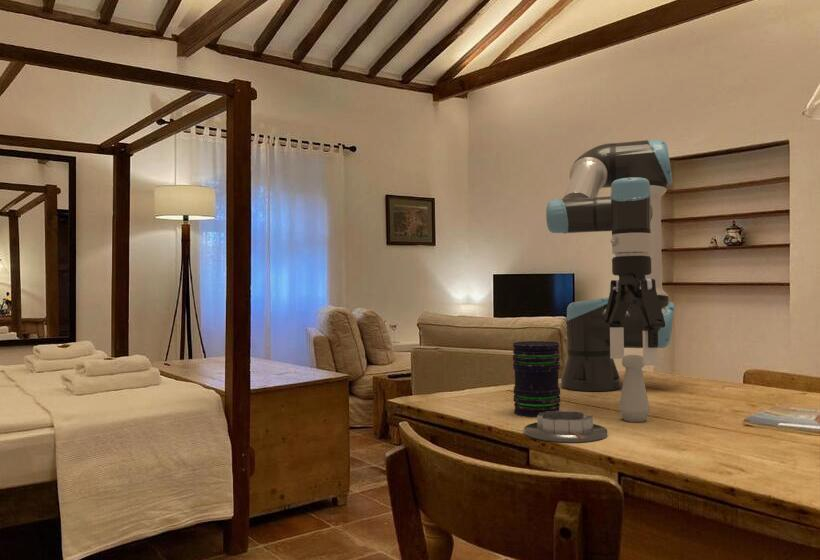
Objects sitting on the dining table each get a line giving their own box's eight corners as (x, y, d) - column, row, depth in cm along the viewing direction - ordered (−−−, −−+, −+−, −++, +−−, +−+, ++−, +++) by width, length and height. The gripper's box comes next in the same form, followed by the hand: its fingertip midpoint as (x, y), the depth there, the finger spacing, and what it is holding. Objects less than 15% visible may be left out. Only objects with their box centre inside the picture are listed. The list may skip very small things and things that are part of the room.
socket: (513, 427, 134) (513, 410, 134) (586, 423, 136) (585, 406, 136) (541, 445, 119) (541, 425, 119) (622, 440, 122) (622, 421, 122)
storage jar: (567, 411, 149) (565, 342, 149) (551, 419, 141) (550, 346, 141) (523, 407, 154) (522, 340, 154) (506, 415, 146) (505, 344, 146)
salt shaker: (623, 416, 143) (622, 353, 143) (652, 418, 140) (651, 354, 140) (616, 421, 138) (614, 356, 138) (645, 424, 135) (644, 357, 135)
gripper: (587, 258, 150) (588, 356, 150) (645, 251, 126) (647, 368, 125) (619, 258, 152) (620, 355, 151) (683, 251, 127) (685, 367, 127)
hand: (633, 361), depth 138 cm, fingers open, 13 cm apart
